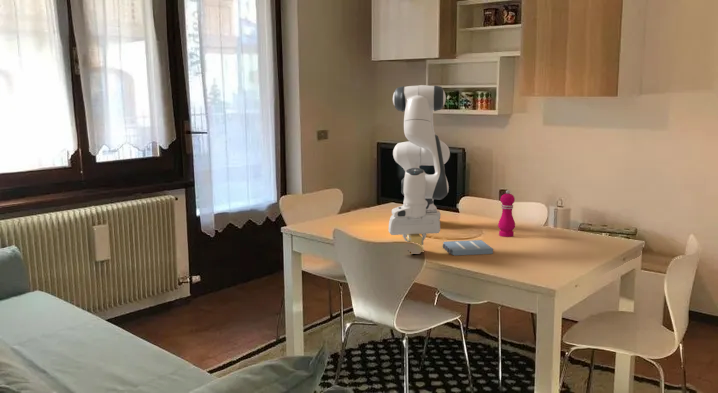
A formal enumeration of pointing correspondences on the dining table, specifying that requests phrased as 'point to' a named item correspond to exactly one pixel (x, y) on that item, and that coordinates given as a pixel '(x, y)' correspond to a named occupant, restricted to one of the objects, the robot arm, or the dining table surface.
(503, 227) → the pepper mill
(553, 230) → the dining table surface
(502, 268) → the dining table surface
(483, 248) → the board
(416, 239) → the pale yellow block
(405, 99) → the robot arm
